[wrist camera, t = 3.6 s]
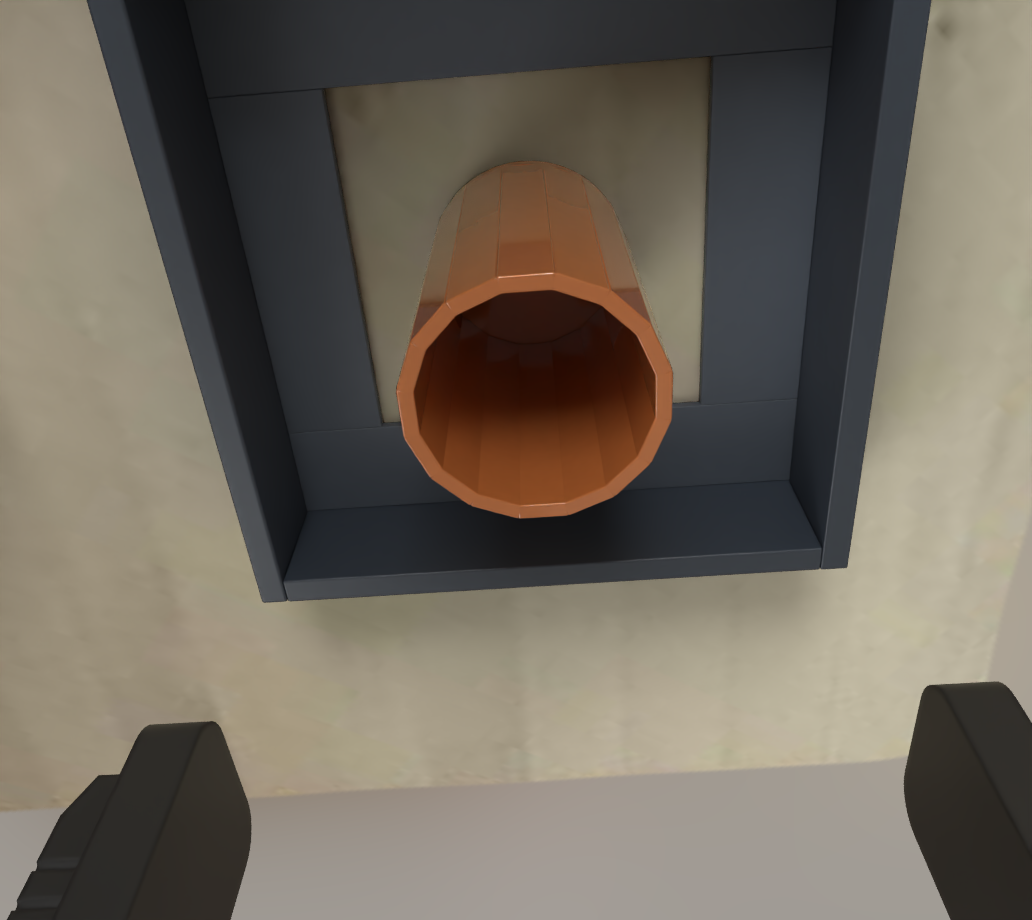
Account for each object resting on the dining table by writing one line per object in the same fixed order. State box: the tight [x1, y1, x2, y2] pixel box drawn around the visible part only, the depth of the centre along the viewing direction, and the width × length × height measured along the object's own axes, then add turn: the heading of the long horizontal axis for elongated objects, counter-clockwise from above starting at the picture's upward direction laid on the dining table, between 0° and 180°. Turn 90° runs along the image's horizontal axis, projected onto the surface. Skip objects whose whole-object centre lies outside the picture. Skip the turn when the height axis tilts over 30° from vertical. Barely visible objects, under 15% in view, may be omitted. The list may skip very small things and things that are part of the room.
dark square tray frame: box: [87, 0, 931, 603], centre depth 24 cm, size 18×18×4 cm
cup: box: [396, 161, 673, 519], centre depth 22 cm, size 6×6×9 cm
